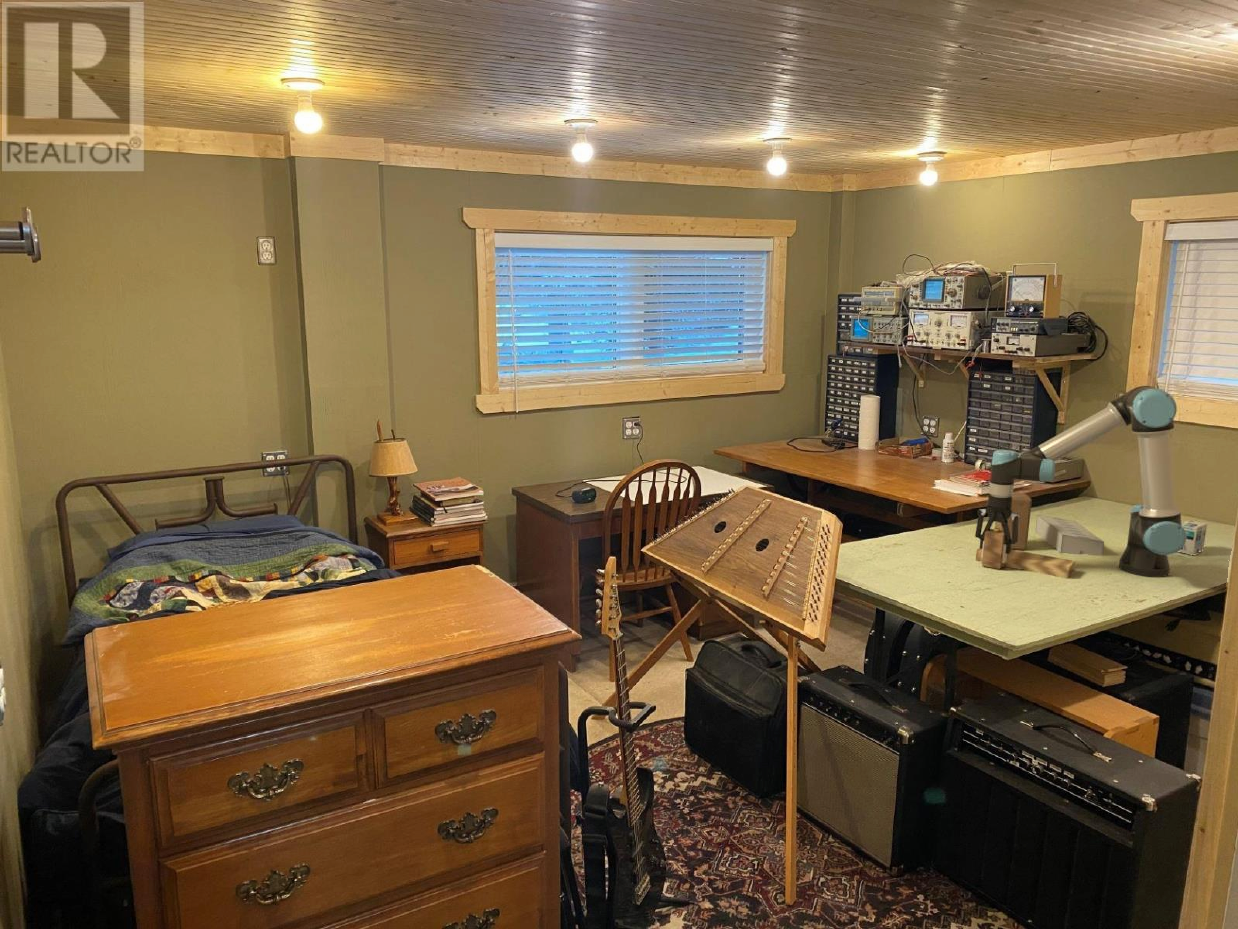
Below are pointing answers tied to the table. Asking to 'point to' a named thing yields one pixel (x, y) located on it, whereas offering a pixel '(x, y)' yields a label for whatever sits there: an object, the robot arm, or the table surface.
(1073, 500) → the table surface
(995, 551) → the wooden box
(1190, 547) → the light bulb box
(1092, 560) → the table surface
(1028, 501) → the wooden block
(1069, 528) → the warehouse
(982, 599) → the table surface
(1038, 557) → the plank
